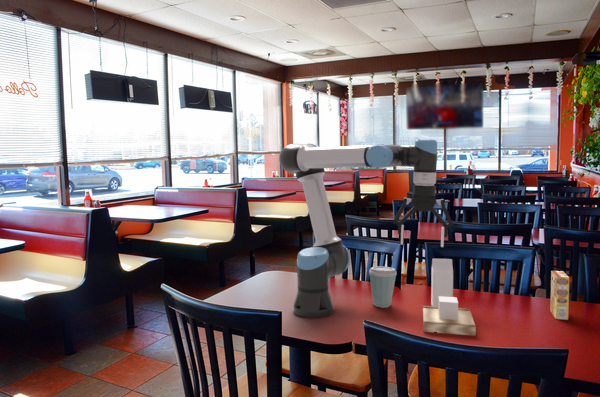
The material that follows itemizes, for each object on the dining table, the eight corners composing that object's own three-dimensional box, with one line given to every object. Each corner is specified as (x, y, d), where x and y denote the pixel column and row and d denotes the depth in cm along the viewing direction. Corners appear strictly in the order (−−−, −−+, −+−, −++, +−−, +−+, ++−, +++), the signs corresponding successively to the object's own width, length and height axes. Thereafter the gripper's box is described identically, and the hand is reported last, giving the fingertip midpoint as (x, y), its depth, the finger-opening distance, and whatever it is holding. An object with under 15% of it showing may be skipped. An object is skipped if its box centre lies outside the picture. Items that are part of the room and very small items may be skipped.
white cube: (439, 319, 151) (439, 301, 150) (438, 312, 157) (438, 296, 156) (458, 320, 149) (458, 302, 149) (456, 314, 155) (456, 297, 155)
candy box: (568, 320, 155) (570, 277, 154) (555, 319, 157) (556, 276, 155) (562, 312, 164) (563, 270, 162) (549, 311, 165) (550, 270, 164)
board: (423, 331, 148) (423, 321, 147) (422, 314, 163) (423, 305, 163) (475, 335, 144) (475, 325, 143) (469, 318, 159) (469, 308, 159)
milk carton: (452, 311, 166) (453, 261, 164) (432, 310, 167) (433, 260, 166) (450, 305, 173) (450, 257, 171) (431, 304, 174) (431, 256, 172)
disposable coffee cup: (369, 300, 181) (369, 263, 179) (396, 301, 179) (396, 264, 177) (368, 309, 170) (367, 270, 169) (396, 310, 168) (397, 271, 167)
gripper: (386, 184, 154) (384, 244, 156) (463, 186, 148) (460, 249, 150) (388, 182, 161) (386, 240, 163) (461, 184, 155) (458, 245, 157)
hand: (421, 245), depth 157 cm, fingers open, 13 cm apart
